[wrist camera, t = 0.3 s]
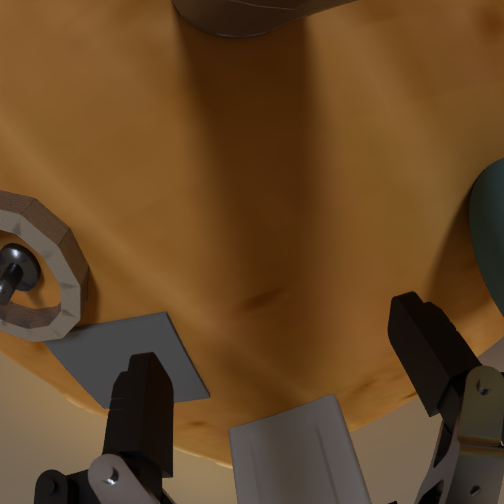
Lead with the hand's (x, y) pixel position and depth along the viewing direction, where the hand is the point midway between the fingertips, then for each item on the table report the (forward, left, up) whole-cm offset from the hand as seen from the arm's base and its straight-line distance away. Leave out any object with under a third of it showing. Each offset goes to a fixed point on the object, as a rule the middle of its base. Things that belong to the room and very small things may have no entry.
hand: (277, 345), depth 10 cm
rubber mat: (+22, -18, -17) cm, 33 cm away
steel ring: (+4, -23, -17) cm, 29 cm away
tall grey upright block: (+48, +1, -18) cm, 51 cm away
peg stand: (+4, -23, -17) cm, 29 cm away
